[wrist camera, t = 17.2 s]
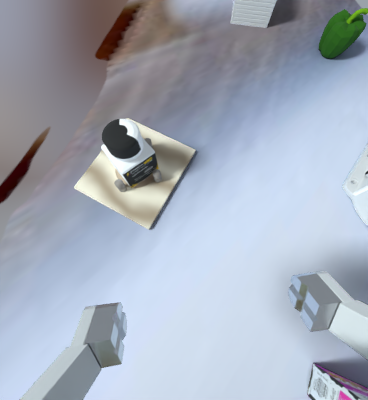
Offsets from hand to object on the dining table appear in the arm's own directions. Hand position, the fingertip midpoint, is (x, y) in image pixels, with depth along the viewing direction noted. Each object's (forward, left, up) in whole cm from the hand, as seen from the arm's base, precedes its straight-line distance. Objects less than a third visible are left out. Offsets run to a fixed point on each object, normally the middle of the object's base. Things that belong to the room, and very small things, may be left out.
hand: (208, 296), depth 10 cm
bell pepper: (-69, +7, -30) cm, 76 cm away
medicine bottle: (-14, -20, -28) cm, 37 cm away
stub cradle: (-13, -20, -29) cm, 38 cm away
